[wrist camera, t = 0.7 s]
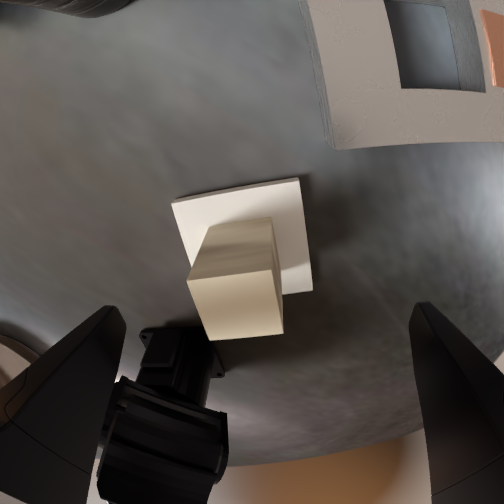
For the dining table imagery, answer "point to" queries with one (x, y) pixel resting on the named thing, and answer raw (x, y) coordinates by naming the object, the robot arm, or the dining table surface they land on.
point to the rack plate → (388, 81)
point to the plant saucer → (13, 359)
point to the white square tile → (248, 208)
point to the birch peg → (238, 281)
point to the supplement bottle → (74, 6)
